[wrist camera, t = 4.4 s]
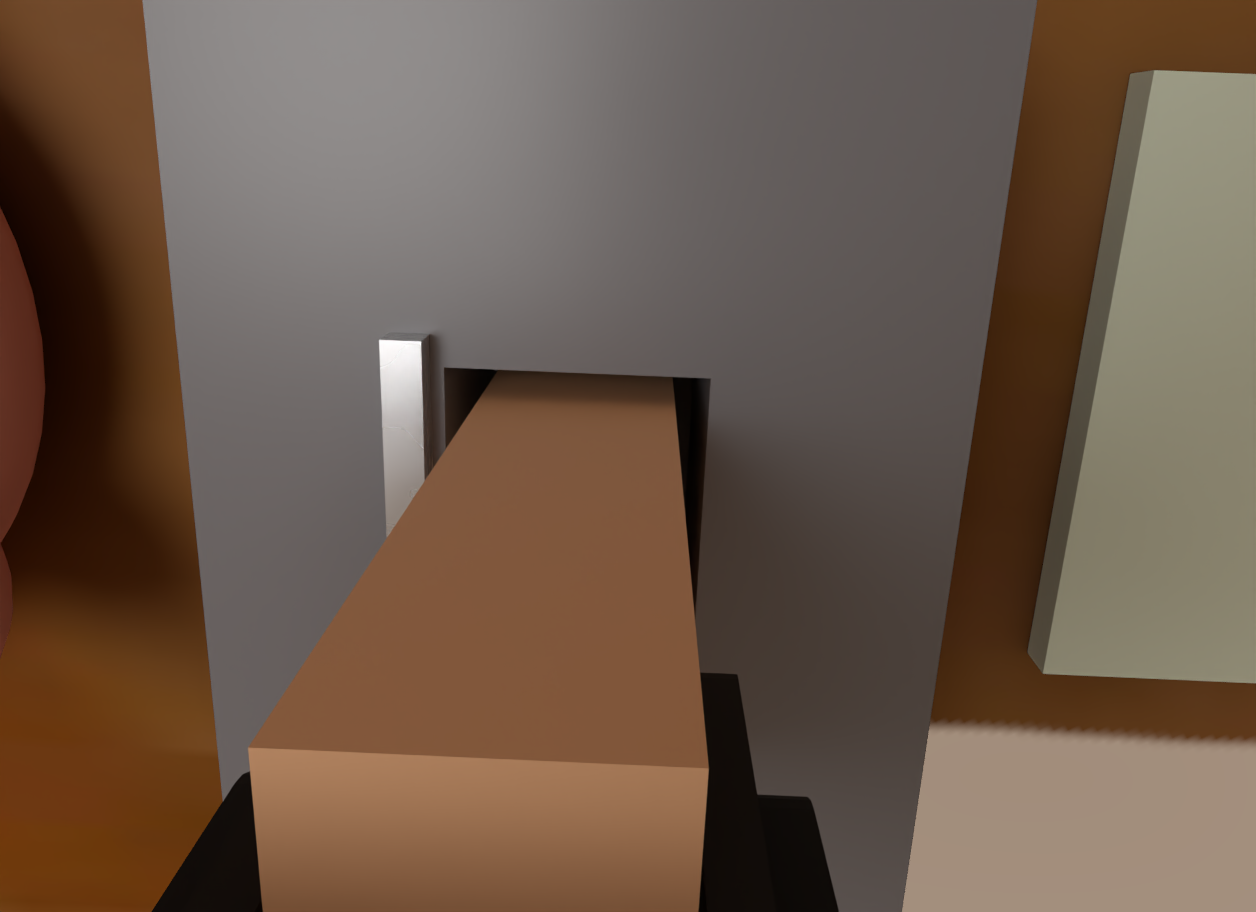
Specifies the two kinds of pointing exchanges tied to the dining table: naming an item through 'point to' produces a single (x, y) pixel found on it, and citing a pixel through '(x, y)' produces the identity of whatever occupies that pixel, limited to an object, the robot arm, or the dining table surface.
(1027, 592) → the dining table surface
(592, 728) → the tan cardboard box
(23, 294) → the teapot
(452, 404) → the dispenser
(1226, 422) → the mat
